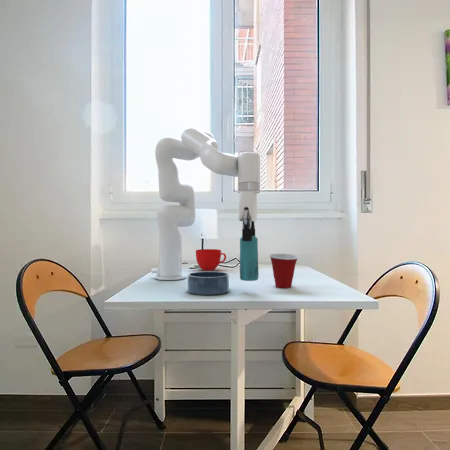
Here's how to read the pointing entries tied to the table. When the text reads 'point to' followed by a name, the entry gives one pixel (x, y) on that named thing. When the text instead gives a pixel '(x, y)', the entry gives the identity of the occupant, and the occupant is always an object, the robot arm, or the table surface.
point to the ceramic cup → (209, 258)
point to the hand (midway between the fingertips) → (248, 240)
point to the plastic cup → (283, 269)
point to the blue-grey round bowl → (208, 283)
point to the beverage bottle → (249, 259)
